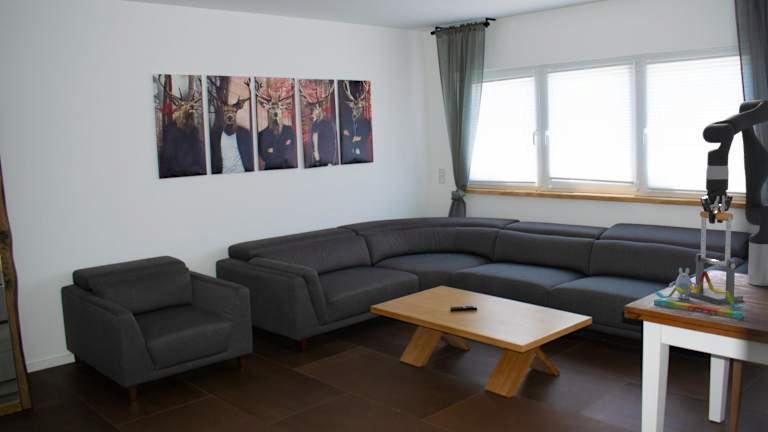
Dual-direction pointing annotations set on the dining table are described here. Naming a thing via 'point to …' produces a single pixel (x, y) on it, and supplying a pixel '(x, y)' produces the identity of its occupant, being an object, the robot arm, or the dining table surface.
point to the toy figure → (683, 283)
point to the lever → (727, 218)
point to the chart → (696, 307)
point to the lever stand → (712, 296)
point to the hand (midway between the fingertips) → (715, 222)
